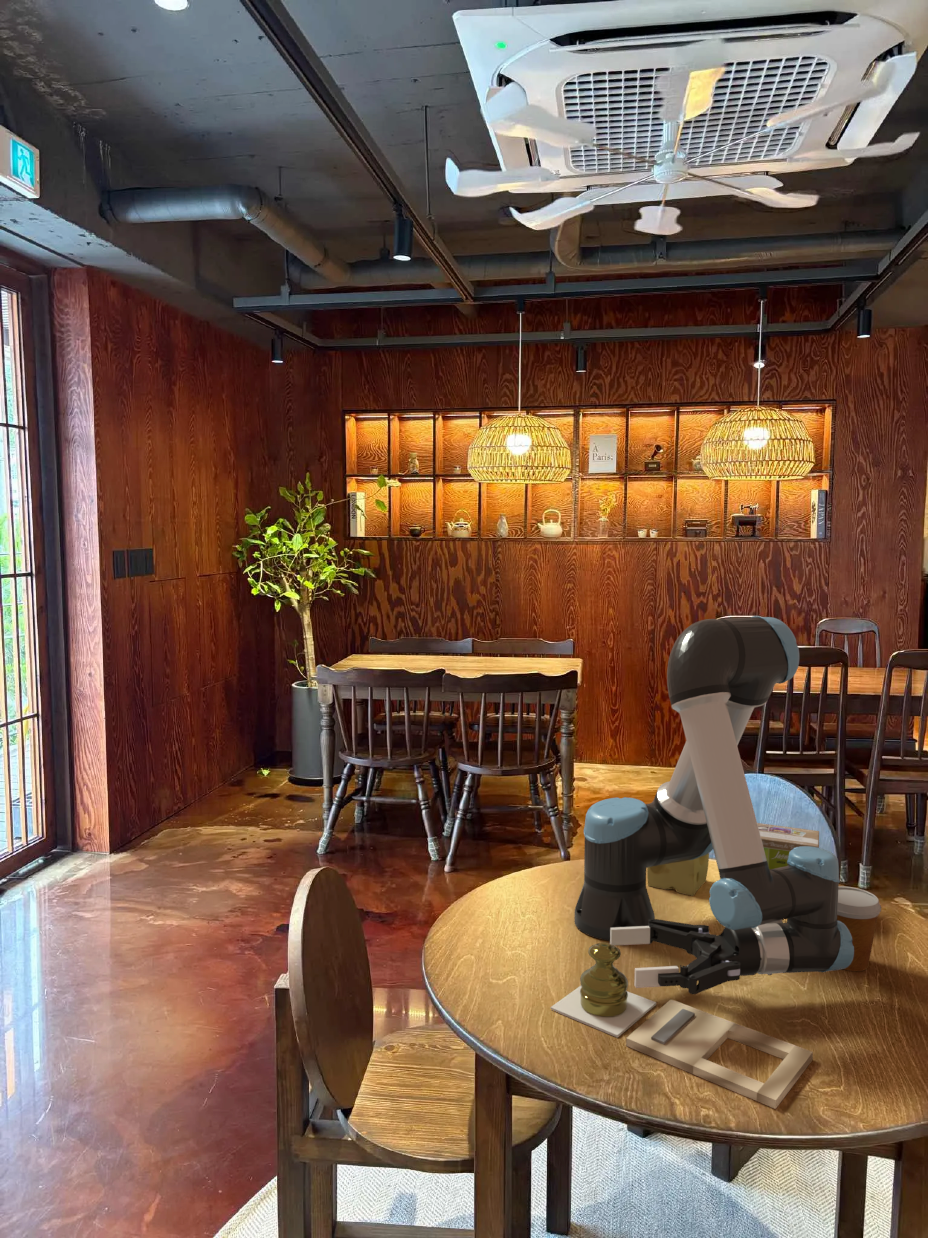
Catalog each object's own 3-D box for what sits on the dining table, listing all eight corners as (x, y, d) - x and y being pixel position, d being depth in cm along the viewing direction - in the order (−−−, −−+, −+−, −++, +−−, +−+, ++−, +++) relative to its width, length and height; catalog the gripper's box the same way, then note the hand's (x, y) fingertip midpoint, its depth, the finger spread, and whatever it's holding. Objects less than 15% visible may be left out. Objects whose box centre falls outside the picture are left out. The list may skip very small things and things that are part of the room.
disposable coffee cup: (885, 979, 148) (888, 910, 146) (824, 973, 150) (827, 905, 148) (870, 952, 157) (873, 887, 156) (814, 947, 159) (816, 883, 158)
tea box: (735, 906, 177) (737, 834, 175) (740, 887, 186) (742, 819, 184) (816, 918, 171) (819, 844, 169) (816, 898, 180) (819, 828, 179)
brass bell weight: (572, 996, 141) (573, 936, 140) (615, 990, 143) (616, 931, 142) (590, 1021, 134) (591, 958, 133) (635, 1014, 136) (636, 952, 135)
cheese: (694, 897, 181) (695, 850, 180) (644, 886, 187) (644, 840, 186) (709, 880, 190) (710, 835, 189) (660, 870, 195) (661, 826, 194)
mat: (550, 1009, 138) (550, 1007, 138) (591, 980, 147) (591, 978, 147) (617, 1038, 130) (617, 1035, 130) (656, 1004, 140) (656, 1002, 140)
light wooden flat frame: (625, 1046, 128) (626, 1035, 128) (670, 1006, 139) (670, 997, 139) (775, 1109, 114) (775, 1097, 114) (812, 1060, 125) (812, 1049, 125)
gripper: (788, 1014, 128) (646, 1023, 126) (721, 936, 153) (601, 942, 151) (790, 965, 127) (647, 972, 125) (722, 895, 152) (602, 900, 150)
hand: (622, 956), depth 138 cm, fingers open, 13 cm apart
